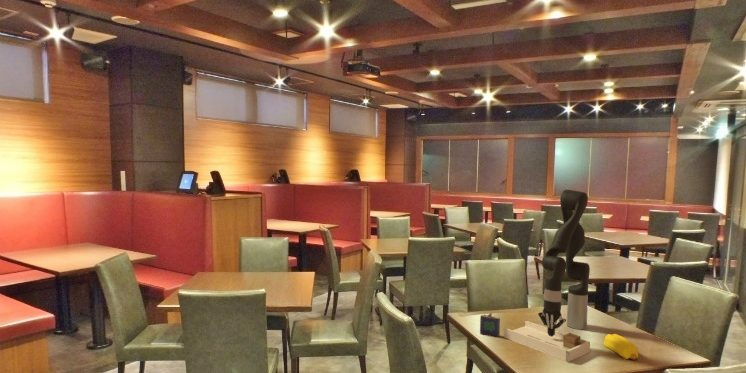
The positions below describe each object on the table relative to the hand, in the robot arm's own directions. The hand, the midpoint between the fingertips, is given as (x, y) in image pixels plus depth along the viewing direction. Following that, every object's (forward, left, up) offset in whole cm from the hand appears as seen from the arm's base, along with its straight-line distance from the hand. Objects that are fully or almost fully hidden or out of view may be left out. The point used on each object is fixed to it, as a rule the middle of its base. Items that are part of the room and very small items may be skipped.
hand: (551, 335), depth 204 cm
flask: (+16, -23, -4) cm, 28 cm away
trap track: (+4, -1, -4) cm, 5 cm away
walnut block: (+1, +10, -2) cm, 11 cm away
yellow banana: (-17, +23, -4) cm, 29 cm away
